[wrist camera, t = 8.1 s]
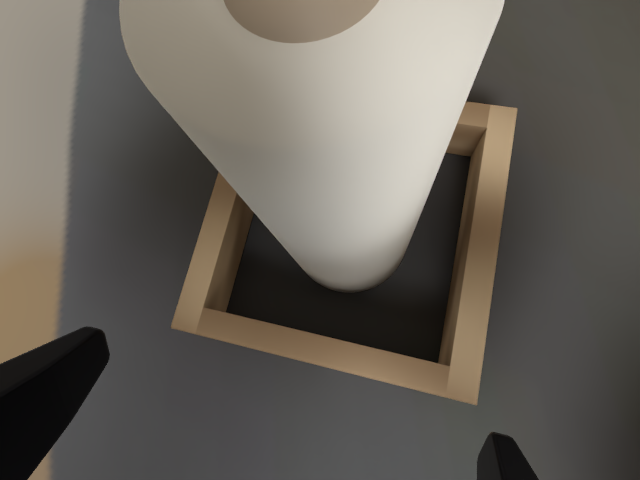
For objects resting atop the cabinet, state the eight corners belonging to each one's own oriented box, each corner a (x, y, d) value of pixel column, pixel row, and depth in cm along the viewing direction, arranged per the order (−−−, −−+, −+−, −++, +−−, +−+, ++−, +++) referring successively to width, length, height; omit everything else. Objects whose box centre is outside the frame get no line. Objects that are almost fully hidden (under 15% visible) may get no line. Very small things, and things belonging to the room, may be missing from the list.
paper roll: (310, 307, 17) (145, 199, 4) (280, 202, 18) (85, -114, 6) (424, 271, 17) (593, 50, 4) (385, 167, 18) (423, -236, 6)
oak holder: (460, 395, 16) (476, 405, 13) (197, 330, 17) (170, 328, 15) (497, 139, 18) (517, 108, 16) (263, 105, 20) (248, 72, 17)
